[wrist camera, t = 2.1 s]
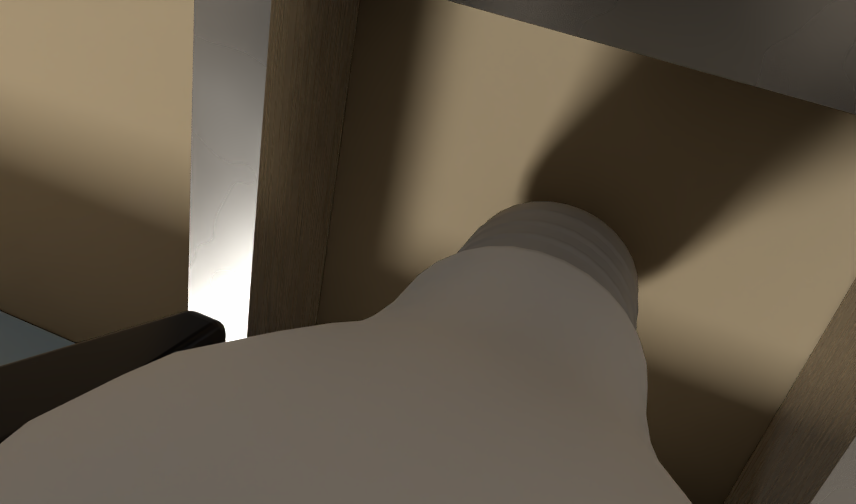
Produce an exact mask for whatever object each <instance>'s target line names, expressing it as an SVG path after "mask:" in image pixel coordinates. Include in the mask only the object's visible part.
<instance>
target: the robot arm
mask: <svg viewBox="0 0 856 504" xmlns="http://www.w3.org/2000/svg"><path fill="white" fill-rule="evenodd" d="M222 342H226V330H225V327H224V325H223V324H222V323H221V322H220V321H218V320H216V319H213V318H211V317H208V316H206V315H203V314H201V313H198V312H195V311H184V312H180V313H177V314H173V315H170V316H167V317H163V318H160V319H157V320H153V321H150V322H146V323H143V324H140V325H136V326H133V327H130V328H126V329H123V330H119V331H116V332H113V333H109V334H106V335H103V336H99V337H96V338H92V339H89V340H86V341H82V342H79V343H76V344H72V345H69V346H65V347H62V348H59V349H55V350H52V351H49V352H45V353H42V354H38V355H35V356H32V357H28V358H25V359H22V360H18V361H15V362H11V363H8V364H5V365H1V366H0V444H1V443H2V442H3V441H4V440H6V439H7V438H8V437H9V436H11V435H12V434H13V433H14V432H16V431H17V430H18V429H19V428H21V427H22V426H23V425H25V424H26V423H27V422H28V421H30V420H32V419H34V418H36V417H38V416H40V415H42V414H44V413H46V412H49V411H51V410H53V409H55V408H57V407H59V406H61V405H63V404H65V403H67V402H69V401H71V400H73V399H75V398H77V397H79V396H81V395H83V394H85V393H87V392H89V391H91V390H93V389H95V388H97V387H99V386H101V385H103V384H105V383H107V382H109V381H111V380H113V379H115V378H117V377H119V376H121V375H123V374H126V373H128V372H130V371H133V370H135V369H137V368H140V367H142V366H144V365H147V364H149V363H151V362H154V361H156V360H158V359H161V358H163V357H165V356H167V355H170V354H172V353H174V352H178V351H183V350H188V349H193V348H198V347H203V346H208V345H213V344H218V343H222Z"/></svg>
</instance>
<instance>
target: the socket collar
mask: <svg viewBox="0 0 856 504" xmlns="http://www.w3.org/2000/svg"><path fill="white" fill-rule="evenodd" d="M448 1H452V2H455V3H459V4H462V5H466V6H470V7H473V8H477V9H480V10H484V11H487V12H491V13H495V14H498V15H502V16H505V17H509V18H512V19H516V20H520V21H523V22H527V23H530V24H534V25H537V26H541V27H545V28H548V29H552V30H555V31H559V32H562V33H566V34H570V35H573V36H577V37H580V38H584V39H587V40H591V41H595V42H598V43H602V44H605V45H609V46H612V47H616V48H620V49H623V50H627V51H630V52H634V53H637V54H641V55H645V56H648V57H652V58H655V59H659V60H662V61H666V62H669V63H673V64H677V65H680V66H684V67H687V68H691V69H694V70H698V71H702V72H705V73H709V74H712V75H716V76H719V77H723V78H727V79H730V80H734V81H737V82H741V83H744V84H748V85H752V86H755V87H759V88H762V89H766V90H769V91H773V92H777V93H780V94H784V95H787V96H791V97H794V98H798V99H802V100H805V101H809V102H812V103H816V104H819V105H823V106H827V107H830V108H834V109H837V110H841V111H844V112H848V113H852V114H855V115H856V0H448ZM359 3H360V0H194V41H193V89H192V138H191V186H190V234H189V282H188V311H195V312H198V313H201V314H203V315H206V316H208V317H211V318H213V319H216V320H218V321H220V322H221V323H222V324H223V325H224V327H225V330H226V342H227V341H232V340H237V339H242V338H247V337H252V336H257V335H262V334H267V333H272V332H276V331H283V330H289V329H296V328H302V327H309V326H315V325H316V322H317V315H318V307H319V300H320V293H321V285H322V278H323V270H324V263H325V255H326V248H327V241H328V233H329V226H330V218H331V211H332V203H333V196H334V189H335V181H336V174H337V166H338V159H339V151H340V144H341V137H342V129H343V122H344V114H345V107H346V99H347V92H348V85H349V77H350V70H351V62H352V55H353V47H354V40H355V33H356V25H357V18H358V10H359ZM723 504H856V279H855V280H854V282H853V284H852V285H851V287H850V289H849V291H848V292H847V294H846V296H845V297H844V299H843V301H842V302H841V304H840V306H839V308H838V309H837V311H836V313H835V314H834V316H833V318H832V319H831V321H830V323H829V325H828V326H827V328H826V330H825V331H824V333H823V335H822V336H821V338H820V340H819V342H818V343H817V345H816V347H815V348H814V350H813V352H812V353H811V355H810V357H809V359H808V360H807V362H806V364H805V365H804V367H803V369H802V370H801V372H800V374H799V376H798V377H797V379H796V381H795V382H794V384H793V386H792V387H791V389H790V391H789V393H788V394H787V396H786V398H785V399H784V401H783V403H782V404H781V406H780V408H779V410H778V411H777V413H776V415H775V416H774V418H773V420H772V421H771V423H770V425H769V427H768V428H767V430H766V432H765V433H764V435H763V437H762V438H761V440H760V442H759V444H758V445H757V447H756V449H755V450H754V452H753V454H752V455H751V457H750V459H749V461H748V462H747V464H746V466H745V467H744V469H743V471H742V472H741V474H740V476H739V478H738V479H737V481H736V483H735V484H734V486H733V488H732V489H731V491H730V493H729V495H728V496H727V498H726V500H725V501H724V503H723Z"/></svg>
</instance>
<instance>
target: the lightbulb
mask: <svg viewBox="0 0 856 504" xmlns="http://www.w3.org/2000/svg"><path fill="white" fill-rule="evenodd" d="M637 315H638V275H637V272H636V268H635V265H634V261H633V259H632V257H631V255H630V253H629V251H628V249H627V247H626V245H625V244H624V243H623V241H622V240H621V239H620V238H619V237H618V235H617V234H616V233H615V232H614V231H613V230H612V229H611V228H610V227H609V226H607V225H606V224H605V223H604V222H603V221H601V220H600V219H599V218H597V217H595V216H593V215H592V214H590V213H588V212H586V211H585V210H582V209H579V208H576V207H573V206H571V205H568V204H562V203H556V202H550V201H540V202H528V203H523V204H518V205H514V206H512V207H510V208H507V209H505V210H503V211H500V212H499V213H498V214H496V215H495V216H493V217H492V218H491V219H489V220H488V221H487V222H486V223H485V224H484V225H482V226H481V227H480V228H479V229H478V230H477V231H476V232H475V233H474V234H473V235H472V236H471V237H470V239H469V240H468V241H467V242H466V243H465V245H464V246H463V247H462V248H461V249H460V250H459V251H458V253H457V254H454V255H452V256H450V257H447V258H445V259H442V260H440V261H438V262H436V263H434V264H433V265H432V266H430V267H429V268H427V269H426V270H425V271H423V272H422V273H420V274H419V275H418V276H417V277H416V278H415V279H414V280H413V281H412V282H411V283H410V284H409V286H408V287H407V288H406V289H405V290H404V291H403V292H402V293H401V294H400V295H399V296H398V297H397V298H396V299H395V301H394V302H392V303H391V304H390V305H388V306H387V307H385V308H384V309H382V310H381V311H380V312H378V313H377V314H375V315H374V316H372V317H369V318H367V319H364V320H362V321H351V322H338V323H328V324H322V325H315V326H309V327H302V328H296V329H289V330H283V331H276V332H272V333H267V334H262V335H257V336H252V337H247V338H242V339H237V340H232V341H227V342H222V343H218V344H213V345H208V346H203V347H198V348H193V349H188V350H183V351H178V352H174V353H172V354H170V355H167V356H165V357H163V358H161V359H158V360H156V361H154V362H151V363H149V364H147V365H144V366H142V367H140V368H137V369H135V370H133V371H130V372H128V373H126V374H123V375H121V376H119V377H117V378H115V379H113V380H111V381H109V382H107V383H105V384H103V385H101V386H99V387H97V388H95V389H93V390H91V391H89V392H87V393H85V394H83V395H81V396H79V397H77V398H75V399H73V400H71V401H69V402H67V403H65V404H63V405H61V406H59V407H57V408H55V409H53V410H51V411H49V412H46V413H44V414H42V415H40V416H38V417H36V418H34V419H32V420H30V421H28V422H27V423H26V424H25V425H23V426H22V427H21V428H19V429H18V430H17V431H16V432H14V433H13V434H12V435H11V436H9V437H8V438H7V439H6V440H4V441H3V442H2V443H1V444H0V504H692V503H691V501H690V500H689V499H688V498H687V496H686V495H685V494H684V493H683V491H682V490H681V489H680V487H679V486H678V485H677V484H676V482H675V481H674V480H673V479H672V477H671V476H670V475H669V474H668V472H667V471H666V470H665V468H664V467H663V466H662V465H661V463H660V462H659V461H658V459H657V456H656V454H655V451H654V449H653V447H652V444H651V442H650V436H649V429H648V423H647V417H646V408H647V390H648V382H647V363H646V360H645V356H644V353H643V349H642V346H641V342H640V339H639V336H638V334H637V332H636V328H637V326H636V320H637Z"/></svg>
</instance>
